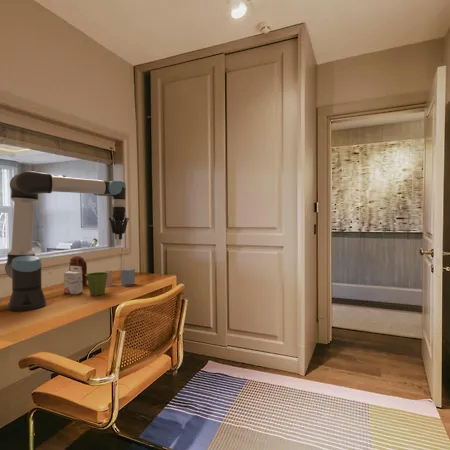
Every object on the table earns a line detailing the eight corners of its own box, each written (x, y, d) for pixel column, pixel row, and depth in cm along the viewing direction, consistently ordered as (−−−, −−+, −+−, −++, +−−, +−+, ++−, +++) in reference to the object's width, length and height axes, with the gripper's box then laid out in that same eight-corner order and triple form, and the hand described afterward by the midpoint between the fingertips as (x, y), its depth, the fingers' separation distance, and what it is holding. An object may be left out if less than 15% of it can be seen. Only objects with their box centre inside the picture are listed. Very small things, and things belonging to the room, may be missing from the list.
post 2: (129, 286, 189) (129, 271, 188) (121, 285, 190) (121, 271, 190) (135, 284, 194) (134, 269, 194) (126, 283, 196) (126, 269, 196)
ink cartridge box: (63, 293, 171) (63, 267, 170) (70, 291, 176) (70, 265, 175) (76, 294, 169) (76, 267, 168) (82, 292, 173) (82, 266, 173)
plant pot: (109, 290, 177) (109, 271, 176) (108, 295, 165) (108, 275, 165) (86, 292, 173) (86, 272, 172) (84, 297, 162) (84, 276, 161)
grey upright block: (129, 284, 189) (129, 270, 189) (121, 283, 190) (121, 270, 190) (134, 282, 194) (134, 269, 194) (126, 282, 196) (126, 268, 196)
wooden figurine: (65, 286, 189) (65, 256, 188) (71, 283, 195) (71, 255, 195) (84, 286, 188) (83, 257, 188) (89, 284, 194) (89, 255, 194)
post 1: (110, 286, 188) (109, 271, 187) (101, 285, 189) (101, 271, 189) (116, 284, 193) (115, 270, 193) (107, 283, 195) (107, 269, 195)
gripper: (131, 206, 191) (131, 244, 192) (113, 206, 195) (113, 244, 195) (124, 206, 184) (124, 245, 184) (106, 206, 188) (105, 244, 188)
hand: (118, 244), depth 190 cm, fingers closed
